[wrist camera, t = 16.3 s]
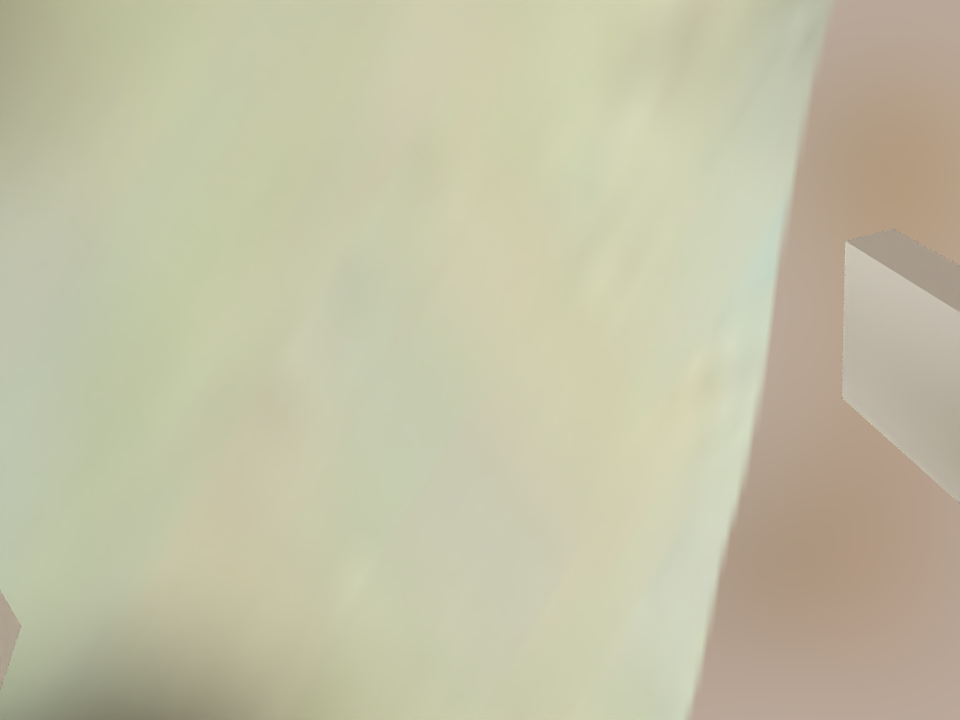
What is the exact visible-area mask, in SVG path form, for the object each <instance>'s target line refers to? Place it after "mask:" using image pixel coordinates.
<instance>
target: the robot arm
mask: <svg viewBox="0 0 960 720" xmlns="http://www.w3.org/2000/svg"><path fill="white" fill-rule="evenodd" d="M844 283H845V285H844V331H843V378H842V398H843V399H844V400H845V401H846V402H848V404H850V405H851V406H852V407H853V408H854V409H855V410H856V411H857V412H858V413H860V414H861V415H862V416H863V417H864V418H865V419H867V421H869V422H870V423H871V424H872V425H873V426H874V427H875V428H876V429H877V430H879V431H880V432H881V433H882V434H883V435H884V436H885V437H886V438H887V439H889V440H890V441H891V442H892V443H893V444H894V445H895V446H896V447H897V448H899V449H900V450H901V451H902V452H903V453H904V454H905V455H906V456H908V457H909V458H910V459H911V460H912V461H913V462H914V463H915V464H916V465H917V466H919V467H920V468H921V469H922V470H923V471H924V472H925V473H926V474H927V475H929V476H930V477H931V478H932V479H933V480H934V481H935V482H936V483H937V484H939V485H940V486H941V487H942V488H943V489H944V490H945V491H946V492H948V493H949V494H950V495H951V496H952V497H953V498H954V499H955V500H956V501H958V502H959V503H960V265H958V264H956V263H955V262H953V261H951V260H949V259H947V258H945V257H944V256H942V255H940V254H938V253H937V252H935V251H933V250H931V249H929V248H927V247H926V246H924V245H922V244H920V243H919V242H917V241H915V240H913V239H911V238H910V237H908V236H906V235H904V234H902V233H901V232H899V231H897V230H895V229H890V230H886V231H882V232H878V233H874V234H871V235H867V236H863V237H859V238H856V239H852V240H848V241H845V282H844ZM20 628H21V624H20V623H19V621H18V619H17V618H16V616H15V614H14V613H13V611H12V609H11V608H10V606H9V604H8V603H7V601H6V599H5V598H4V596H3V594H2V593H1V591H0V689H1V686H2V683H3V680H4V677H5V674H6V671H7V668H8V665H9V661H10V658H11V655H12V652H13V649H14V646H15V643H16V640H17V637H18V634H19V631H20Z"/></svg>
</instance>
